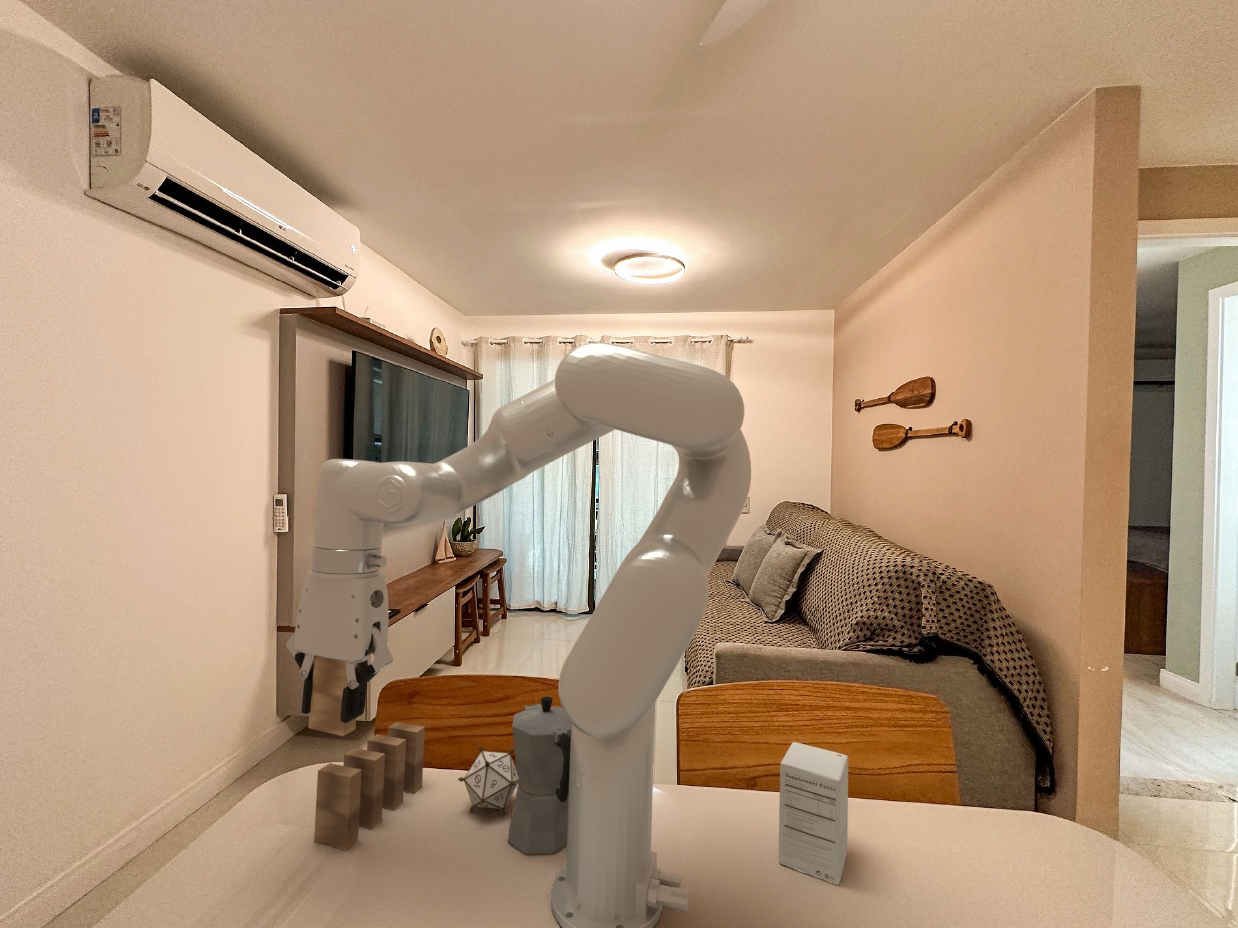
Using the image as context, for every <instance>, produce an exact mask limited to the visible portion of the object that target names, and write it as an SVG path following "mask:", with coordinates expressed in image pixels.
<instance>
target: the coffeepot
mask: <svg viewBox="0 0 1238 928" xmlns="http://www.w3.org/2000/svg"><path fill="white" fill-rule="evenodd" d="M553 699H554V698H553V697H551V696H542V697H541V698H540V704H539V703H533V704H530V705H524V710H522V711H519V712H517V713H515V714H513V718H512V719H513V721H512V726H511V729H512V730H511V731H512V737H513V738H512V739H513V748H514V759H515V767H516V770H517V775H518V776H519V781H518V785H517V786H516V792H515V798H514V803H513V807H512V813H511V819H510V824H509V831H508V837H507V842H508V843H509V844H510V845H511V847H513V848H514V849H515V850H517V851H519V853H520V852H521V853H523V854H526V855H530V856H531V855H532V856H545V855H546V856H547V855H551V854H555V853H558V852H560V851H561V850H563V849H565V848H567V830H568V802H569V774H570V747H571V727H572V723H571V722H570V721H569V719H568V718H567V716H566V715H565V713H564V711H563V708H562V706H552V703H553Z"/></svg>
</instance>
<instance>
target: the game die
mask: <svg viewBox="0 0 1238 928" xmlns="http://www.w3.org/2000/svg"><path fill="white" fill-rule="evenodd" d="M483 749H484V748H483V746H482V745H480V744H478V751H480V752H479V754H478V755H477V757H476V758H475V760H474V762H473V763H472V765H471V766H470V768H469V770H467V773H466V774H465V776H464V777H462V776H461V777H459V778H457V781H459V782H464V785H465V788H466V790H467V793H468V796H469V798H470V801H471V804H472V806H470V807H469V813H471V812H473V811H474V810H475V808H482V809H492V810H501V811H502V814H503V816H507V810H506V808H505V807H506V806H507V804H508V802H509V800H510V799H511V798H512V795H513V794H514V792H515V790H516V789H517V786H518V781H519V776H518V775H517V770H516V763H515V761H514V759H513V755H512V754H513V753H515V750H514V747H513V748H511V749H510V750H509V752H504V751H492V750H491V751H489V750H483Z"/></svg>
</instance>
